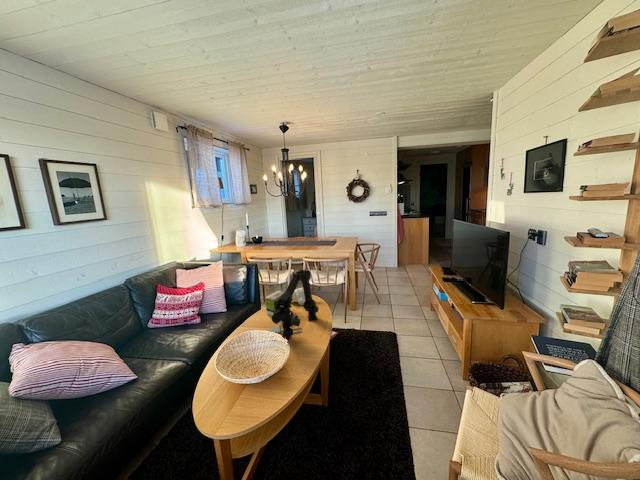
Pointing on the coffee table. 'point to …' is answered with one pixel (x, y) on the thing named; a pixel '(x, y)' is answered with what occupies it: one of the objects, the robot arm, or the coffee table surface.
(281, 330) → the track
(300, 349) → the coffee table surface
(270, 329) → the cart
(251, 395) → the coffee table surface
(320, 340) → the coffee table surface
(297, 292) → the fox head
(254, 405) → the coffee table surface
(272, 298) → the tea box
